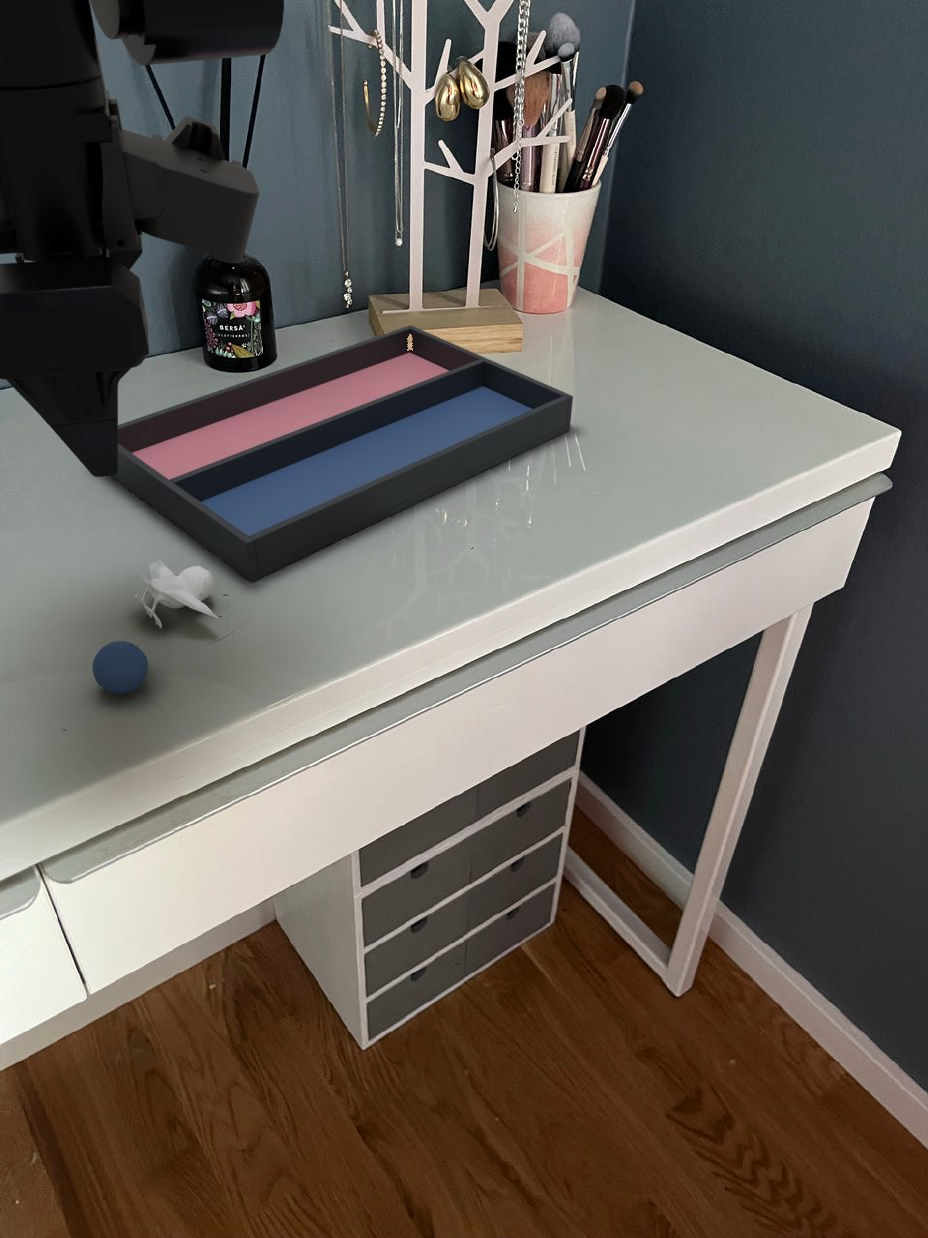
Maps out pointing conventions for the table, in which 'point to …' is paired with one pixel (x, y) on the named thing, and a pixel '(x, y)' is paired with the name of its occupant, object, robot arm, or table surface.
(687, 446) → the table surface
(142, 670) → the slate ball
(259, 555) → the tray
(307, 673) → the table surface
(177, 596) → the white bird figurine
